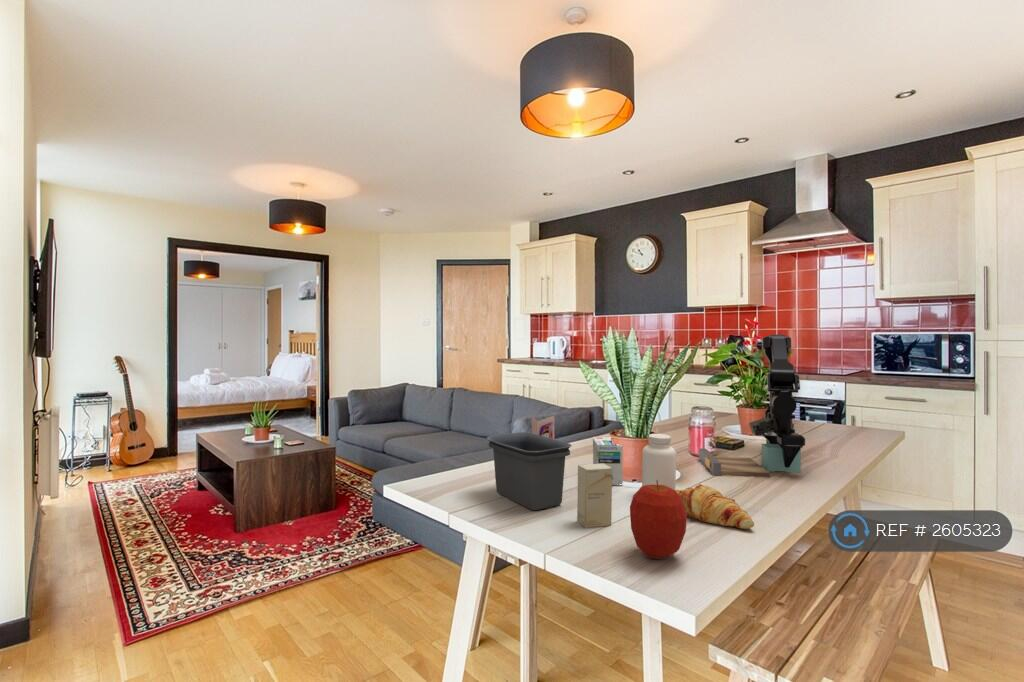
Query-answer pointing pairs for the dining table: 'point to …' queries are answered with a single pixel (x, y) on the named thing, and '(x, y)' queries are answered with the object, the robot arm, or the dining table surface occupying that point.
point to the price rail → (710, 461)
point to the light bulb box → (609, 457)
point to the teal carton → (778, 459)
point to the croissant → (714, 507)
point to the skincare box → (594, 495)
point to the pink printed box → (543, 427)
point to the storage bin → (529, 468)
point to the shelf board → (741, 467)
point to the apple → (658, 520)
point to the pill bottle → (659, 462)
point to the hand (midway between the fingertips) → (780, 463)
